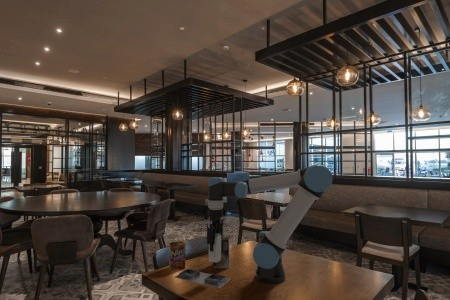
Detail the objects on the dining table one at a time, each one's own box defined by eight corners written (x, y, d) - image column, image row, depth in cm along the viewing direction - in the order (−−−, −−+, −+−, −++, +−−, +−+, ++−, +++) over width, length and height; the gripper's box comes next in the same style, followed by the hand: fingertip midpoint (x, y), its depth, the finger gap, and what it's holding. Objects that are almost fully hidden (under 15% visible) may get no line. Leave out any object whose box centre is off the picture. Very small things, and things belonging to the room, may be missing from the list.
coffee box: (229, 265, 161) (230, 236, 162) (228, 269, 154) (229, 239, 155) (214, 264, 162) (214, 236, 163) (212, 268, 155) (212, 239, 156)
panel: (230, 279, 141) (230, 275, 141) (219, 288, 130) (219, 284, 131) (187, 270, 153) (187, 266, 153) (173, 278, 142) (173, 274, 142)
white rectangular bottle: (220, 259, 140) (221, 233, 140) (216, 262, 136) (216, 235, 136) (211, 258, 142) (212, 232, 143) (207, 260, 138) (207, 234, 139)
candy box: (168, 270, 152) (169, 242, 153) (169, 267, 156) (169, 240, 157) (185, 270, 153) (185, 241, 154) (185, 267, 158) (185, 239, 158)
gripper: (217, 205, 150) (216, 250, 148) (199, 210, 134) (198, 260, 133) (230, 206, 146) (229, 252, 145) (213, 211, 131) (212, 262, 129)
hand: (214, 256), depth 139 cm, fingers closed on white rectangular bottle, 4 cm apart
